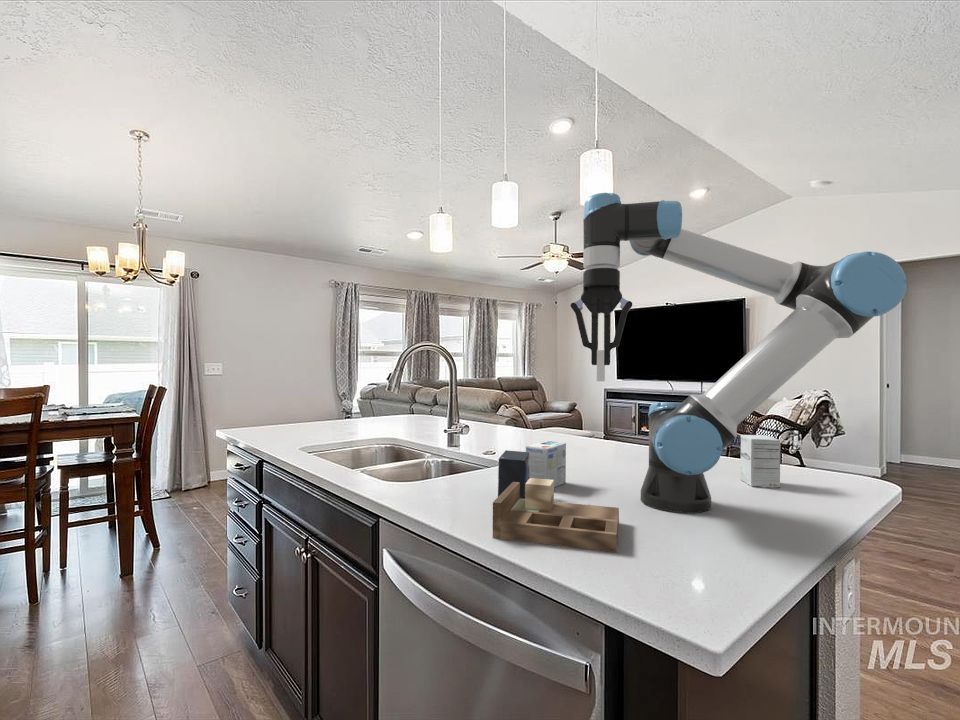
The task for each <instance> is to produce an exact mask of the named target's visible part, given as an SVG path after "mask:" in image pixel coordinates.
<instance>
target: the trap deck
mask: <svg viewBox="0 0 960 720" xmlns="http://www.w3.org/2000/svg"><path fill="white" fill-rule="evenodd" d="M619 523H620V508H619V507H614V506H604V505H602V506H601V505H591V504H582V503H573V502H572V503H570V502H560V501H559V502H558V501H554V505H553V506H552V508H551V510H550V511H543V510H533V509H525V499H520V482H512V483H511V484H510V485H509V486H508V487H507V488H506V489H505V490H504V491H503V492H502V493H501V494H500V495H499V497H498V496H497V497H496V498H495V499H494V501H492V538H493V539H502V540H509V541H510V540H511V541H519V542H527V543H535V544H545V545H550V546H551V545H553V546H561V547H567V548H570V547H571V548H578V549H587V550H593V551H594V550H596V551H603V552H610V553H611V552H612V553H617V548H618V538H619Z"/></svg>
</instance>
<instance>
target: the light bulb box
mask: <svg viewBox="0 0 960 720" xmlns="http://www.w3.org/2000/svg"><path fill="white" fill-rule="evenodd" d="M525 452H529V458H530V466H529V479H530V478H536V479H549V480H554V488H557V487H559V486H560V485H563V484H565V483H566V481H567V480H566V477H567V474H566V473H567V472H566V467H567V466H566V465H567V461H566V460H567V443H566V442H561V441H560V442H559V441H549V440H543V441H540V442H536V443H533V444H530V445H526V446H525Z"/></svg>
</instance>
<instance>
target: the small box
mask: <svg viewBox="0 0 960 720" xmlns="http://www.w3.org/2000/svg"><path fill="white" fill-rule="evenodd" d="M497 466H498V470H497V471H498V473H497V476H498V477H497V480H498V483H497V498H498V497H499V495H500V494H501V493H502V492H503V491H504V490H505V489H506V488H507V487H508V486H509V485H510V484H511V483H512V482H520V499H525V484H526V482H527V481H528V480H529V466H530V458H529V452H526V451H518V450H504V451H503V453H502V454H501V455H500V456H499V458H498V465H497Z"/></svg>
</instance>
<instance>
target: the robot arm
mask: <svg viewBox="0 0 960 720" xmlns="http://www.w3.org/2000/svg"><path fill="white" fill-rule="evenodd" d="M583 205H584V208H583V209H584V210H583V218H582V219H583V221H582V222H583V251H582V252H583V255H582V256H583V261H582V262H583V269H584V272H583V275H582V276H583V281H582V282H583V283H582V285H583V286H582V293H581V294H580V298H579V299H578V300H576V301H575V302H571V303H570V307H571V309H572V310H573V312H574V314H575V319H576V322H577V325H578V326H577V327H578V330H579V334H580V338H581V342H582V346H583V347H585V348H588V349H589V350H590V351H591V362H590V363H591V365H592V366H596V382H605V381H606V377H605V375H606V370H605V367H606V366H610V364H611V350H613V349H616V348H618V347H619V346H620V342H621V339H622V336H623V332H624V328H625V324H626V320H627V316H628V313H629V311H630V310H631V309H632V307H633V302H632V301H631V300H628V299H626V298H624V297H623V294H622V292H621V288H620V287H621V283H620V282H621V279H620V276H621V272H620V270H619V268H620V265H621V257H620V256H621V242H623V241H624V242H628V241H629V244H630V247H631V249H632V250H633V251H634V252H635V254H637V255H639V256H642V257H643V256H644V257H646V256H653V257H655V258H660V259H663V260H664V261H665V260H666V261H668V262H671V263H674V264H677V265H680V266H682V267H685V268H688V269H691V270H694V271H697V272H700V273H702V274H706V275H709V276H712V277H715V278H716V279H717V278H718V279H719V280H720V279H721V280H723V281H726V282H729V283H731V284H734V285H737V286H740V287H743V288H746V289H749V290H752V291H755V292H758V293H760V294H763V295H767V296H769V297H773V299H774V302H775V303H776V304H777V305H780V306H783V307H786V308H788V309H791V310H793V311H792V312H791V313H790V314H788V316H786V318H784V319H783V320H782V321H781V322H780V323H779V324H778V325H777V326H775V328H773V329H772V330H771V331H770V332H769V333H768V334H767V335H766V336H765V337H764V338H762V339H761V340H760V341H759V342H758V343H757V344H756V345H755V346H754V347H753V348H752V349H750V351H748V352H747V353H746V354H745V355H743V357H742V358H740V360H738V361H737V362H736V363H735V364H734V365H733V366H732V367H731V368H730V369H729V370H727V371H726V372H725V373H724V374H723V375H722V376H721V377H720V378H718V380H717V381H716V382H714V383H713V385H711V386H710V387H709V388H708V389H707V390H706V391H705V392H703V393H701V394H690V395H689V396H688V397H686V398H685V400H684V399H683V401H682V402H673V401H672V402H671V401H670V402H667V401H665V402H653V403H652V404H650V406H649V408H648V409H649V411H648V414H647V415H648V416H647V417H648V469H647V471H646V473H645V476H644V477H645V478H644V480H643V483H642V486H641V489H640V501H641V503H643V504H644V505H645V506H648V507H650V508H653V509H658V510H661V511H667V512H674V513H691V514H692V513H693V514H695V513H702V512H707V511H709V510H711V509H712V495H711V493H710V492H711V491H710V489H709V486H708V483H707V480H706V477H705V474H704V473H706V472H708V471H709V470H711V469H713V468H714V467H715V466H716V464H717V463H718V462H719V461H720V458H721V456H722V453H723V450H724V449H726V448H727V446H729V445H730V444H731V443H732V442H734V441H735V439H737V436H738V434H737V433H738V426H739V425H740V423H742V422H743V421H744V420H745V419H746V418H747V417H748V416H750V415H751V414H752V413H753V412H755V410H756V409H757V408H759V407H760V406H762V404H764V402H766V401H767V400H768V399H769V398H770V397H771V396H773V395H774V393H776V392H777V391H778V390H779V389H780V388H781V387H783V385H784V384H786V383H787V382H788V381H789V380H790V379H791V378H792V377H794V376H795V375H796V374H797V373H798V372H799V371H800V370H801V369H803V368H804V367H805V366H807V364H808V363H810V362H811V361H812V360H813V359H814V358H815V357H816V356H818V354H820V353H821V351H823V350H824V349H825V348H826V347H827V346H829V345H830V344H831V343H832V342H834V340H835V339H849V338H851V337H852V336H853V335H855V334H856V333H857V332H858V331H859V330H860V329H861V328H863V327H864V326H865V325H866V324H868V322H869V321H871V320H872V319H873V318H874V317H879V316H883V315H885V314H887V313H888V312H890V311H891V310H894V309H895V308H896V307H897V306H898V305H899V304H900V303H901V302H902V300H903V299H904V298H905V294H906V291H907V277H906V274H905V271H904V269H903V268H902V266H901V265H900V264H899V263H898V261H896V259H894V258H892V257H891V256H889V255H887V254H885V253H883V252H882V253H881V252H877V251H862V252H855V253H854V252H853V253H851V254H848V255H846V256H844V257H843V258H841V259H840V260H837V261H835V262H832V263H830V264H828V265H815V264H814V265H813V264H809V263H805V262H801V261H799V260H798V261H796V262H792V263H788V262H786V261H782V260H779V259H776V258H773V257H770V256H767V255H765V254H760V253H758V252H755V251H752V250H748V249H745V248H742V247H738V246H737V245H733V244H730V243H727V242H723V241H722V240H721V241H720V240H718V239H715V238H711V237H708V236H705V235H703V234H699V233H696V232H693V231H690V230H687V229H684V228H682V225H683V206H682V204H681V202H680V201H678V200H664V199H662V200H657V201H648V202H647V201H646V202H645V201H644V202H637V203H633V202H632V203H622V201H621V197H620V195H618V194H617V193H613V192H609V193H608V192H599V193H595V194H592V195H589V197H587V199H585V202H584V204H583ZM619 303H620V306H619V307H620V309H621V311H620V315H619V318H618V323H617V326H616V330H615V334H614V338H613V341H611V328H612V327H611V316H612V315H611V313H612V312H613V311H614V310H615V309H616V308H617V306H618V305H619ZM583 304H584V305H585V307H586V309H587V310H588V311H589V312H590V313H591V338H590V339H591V342H590V341H589V336H588V333H587V329H586V325H585V320H584V316H583V312H582V310H583ZM600 314H603V349H602V350H601V349H599V315H600Z"/></svg>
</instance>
